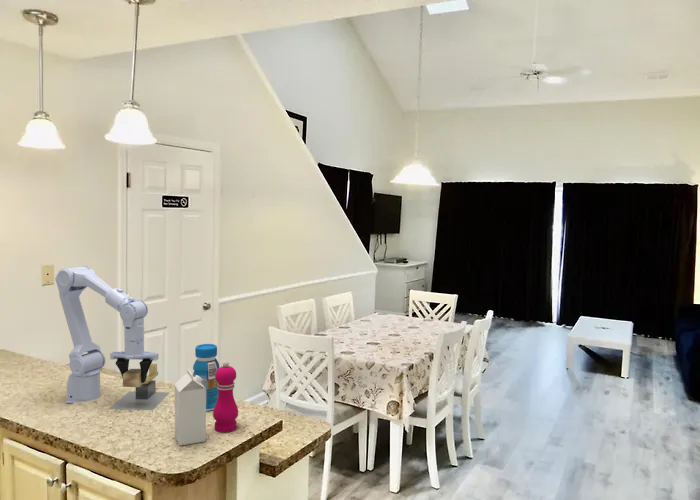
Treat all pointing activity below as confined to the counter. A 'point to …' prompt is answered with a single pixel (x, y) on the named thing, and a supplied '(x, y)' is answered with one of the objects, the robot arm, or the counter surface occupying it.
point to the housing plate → (139, 402)
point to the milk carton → (190, 410)
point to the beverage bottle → (207, 372)
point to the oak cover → (132, 378)
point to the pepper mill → (225, 399)
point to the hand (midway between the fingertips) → (134, 381)
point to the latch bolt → (151, 373)
